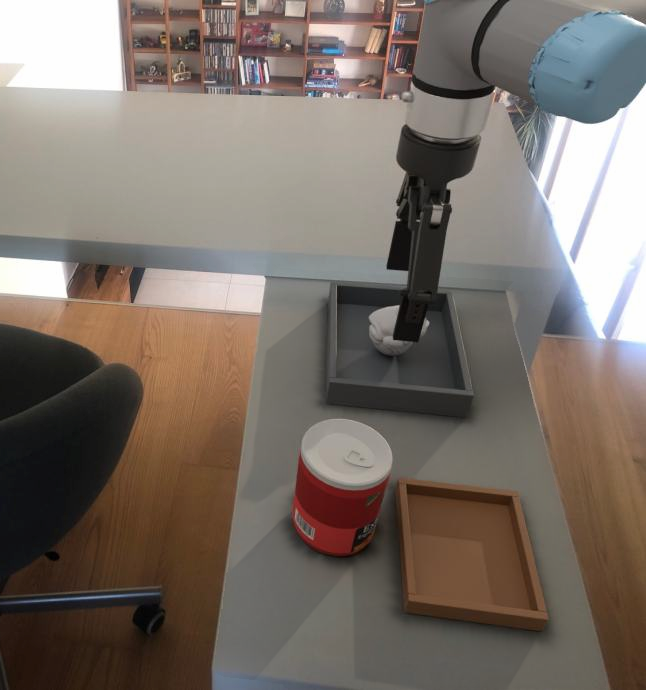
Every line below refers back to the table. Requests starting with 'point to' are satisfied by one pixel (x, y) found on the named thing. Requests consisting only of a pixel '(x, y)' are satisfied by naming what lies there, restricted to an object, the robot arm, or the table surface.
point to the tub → (395, 356)
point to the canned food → (340, 485)
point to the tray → (467, 555)
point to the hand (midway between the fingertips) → (401, 302)
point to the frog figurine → (388, 331)
